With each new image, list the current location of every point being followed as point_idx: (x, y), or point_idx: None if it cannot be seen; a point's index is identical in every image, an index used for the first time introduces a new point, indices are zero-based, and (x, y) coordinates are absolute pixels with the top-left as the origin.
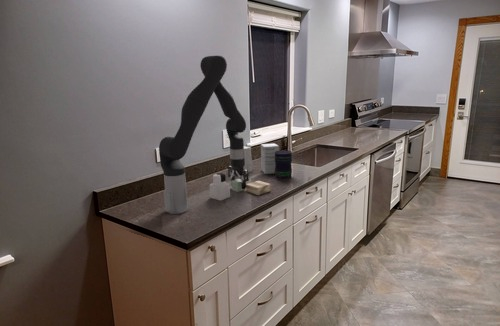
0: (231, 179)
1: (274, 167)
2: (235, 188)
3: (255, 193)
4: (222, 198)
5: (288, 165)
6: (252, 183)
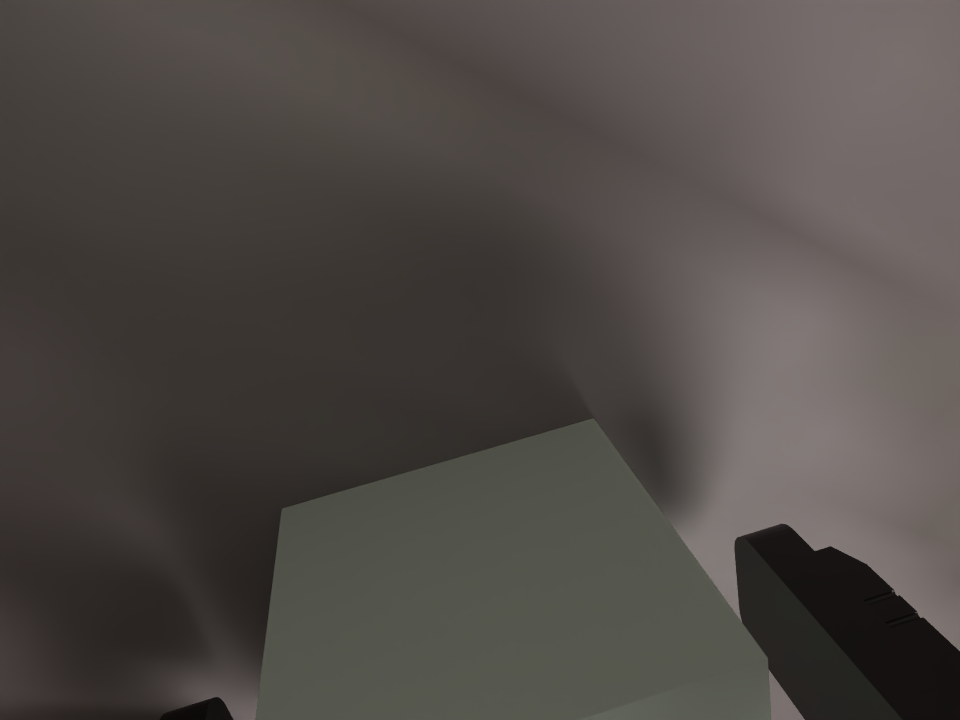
0: (936, 706)
1: None
2: (401, 531)
3: None
4: None
5: None
6: None
